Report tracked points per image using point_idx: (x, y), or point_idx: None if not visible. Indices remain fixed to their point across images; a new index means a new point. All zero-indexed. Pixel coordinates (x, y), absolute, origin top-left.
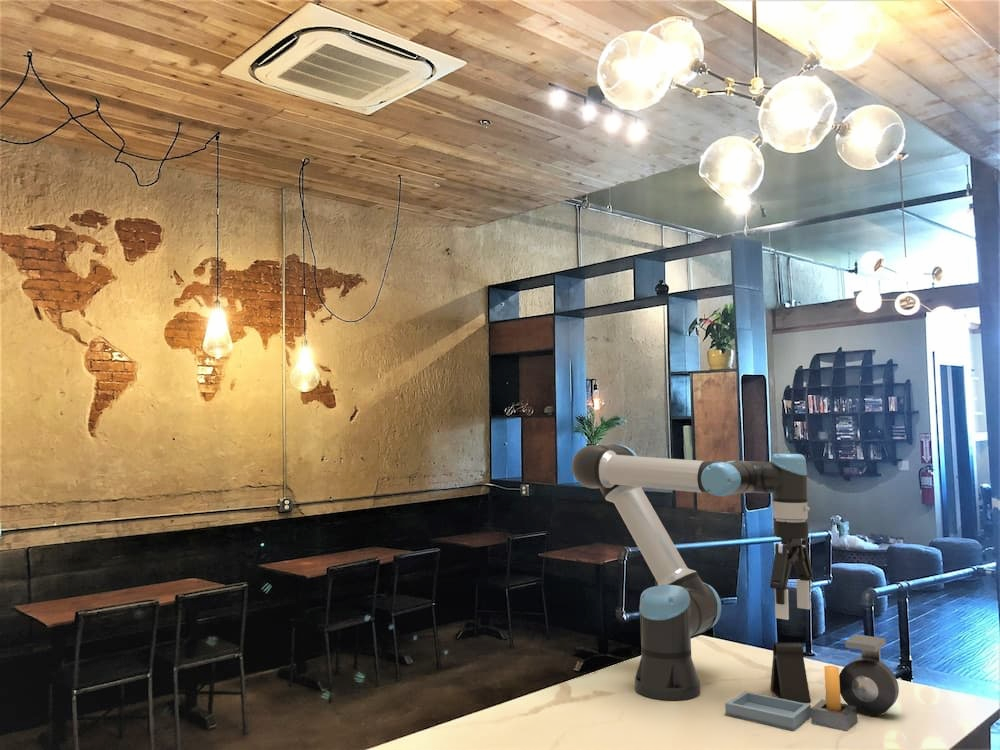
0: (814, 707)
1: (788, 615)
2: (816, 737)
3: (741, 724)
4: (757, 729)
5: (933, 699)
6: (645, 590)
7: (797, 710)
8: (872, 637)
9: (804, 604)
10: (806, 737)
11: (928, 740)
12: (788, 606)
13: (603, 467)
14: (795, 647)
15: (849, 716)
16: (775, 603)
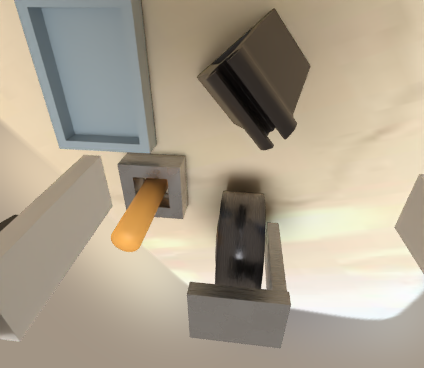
0: (125, 168)
1: (101, 216)
2: None
3: (20, 50)
4: (27, 87)
5: (369, 270)
6: None
7: (101, 143)
8: (274, 331)
9: (413, 225)
10: (66, 162)
11: (178, 274)
12: (82, 248)
13: None
14: (247, 131)
15: None
16: (39, 198)
